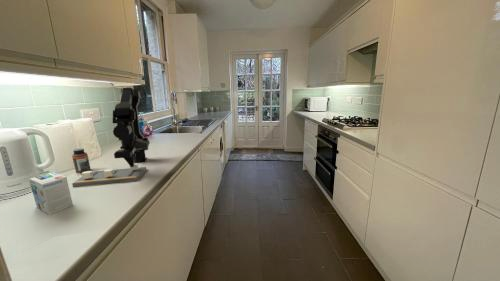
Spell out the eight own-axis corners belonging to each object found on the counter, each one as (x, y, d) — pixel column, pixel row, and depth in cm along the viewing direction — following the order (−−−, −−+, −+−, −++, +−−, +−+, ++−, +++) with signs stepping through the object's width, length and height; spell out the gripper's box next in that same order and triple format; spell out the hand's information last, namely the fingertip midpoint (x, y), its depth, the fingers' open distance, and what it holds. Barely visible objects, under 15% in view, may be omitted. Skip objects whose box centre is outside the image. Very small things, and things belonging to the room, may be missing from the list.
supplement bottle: (75, 170, 104) (70, 149, 101) (90, 167, 108) (85, 147, 105) (76, 174, 100) (70, 151, 97) (91, 170, 103) (86, 149, 101)
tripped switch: (131, 168, 100) (131, 163, 99) (138, 168, 100) (137, 163, 99) (130, 170, 98) (129, 165, 97) (137, 169, 98) (136, 164, 98)
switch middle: (106, 175, 92) (105, 169, 92) (114, 174, 93) (113, 169, 92) (104, 177, 90) (103, 171, 90) (112, 176, 91) (111, 170, 90)
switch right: (85, 177, 91) (84, 171, 90) (93, 176, 91) (91, 170, 91) (82, 178, 89) (81, 173, 88) (90, 178, 89) (89, 172, 89)
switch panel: (91, 174, 99) (90, 170, 99) (146, 169, 104) (145, 166, 103) (72, 186, 86) (72, 183, 85) (137, 180, 90) (136, 177, 90)
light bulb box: (35, 207, 71) (27, 178, 68) (60, 198, 77) (53, 171, 74) (49, 215, 66) (40, 184, 63) (74, 205, 72) (67, 176, 69)
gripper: (139, 137, 86) (144, 172, 89) (151, 129, 103) (155, 159, 107) (110, 139, 83) (116, 174, 87) (127, 131, 101) (132, 160, 105)
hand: (132, 166), depth 97 cm, fingers closed
